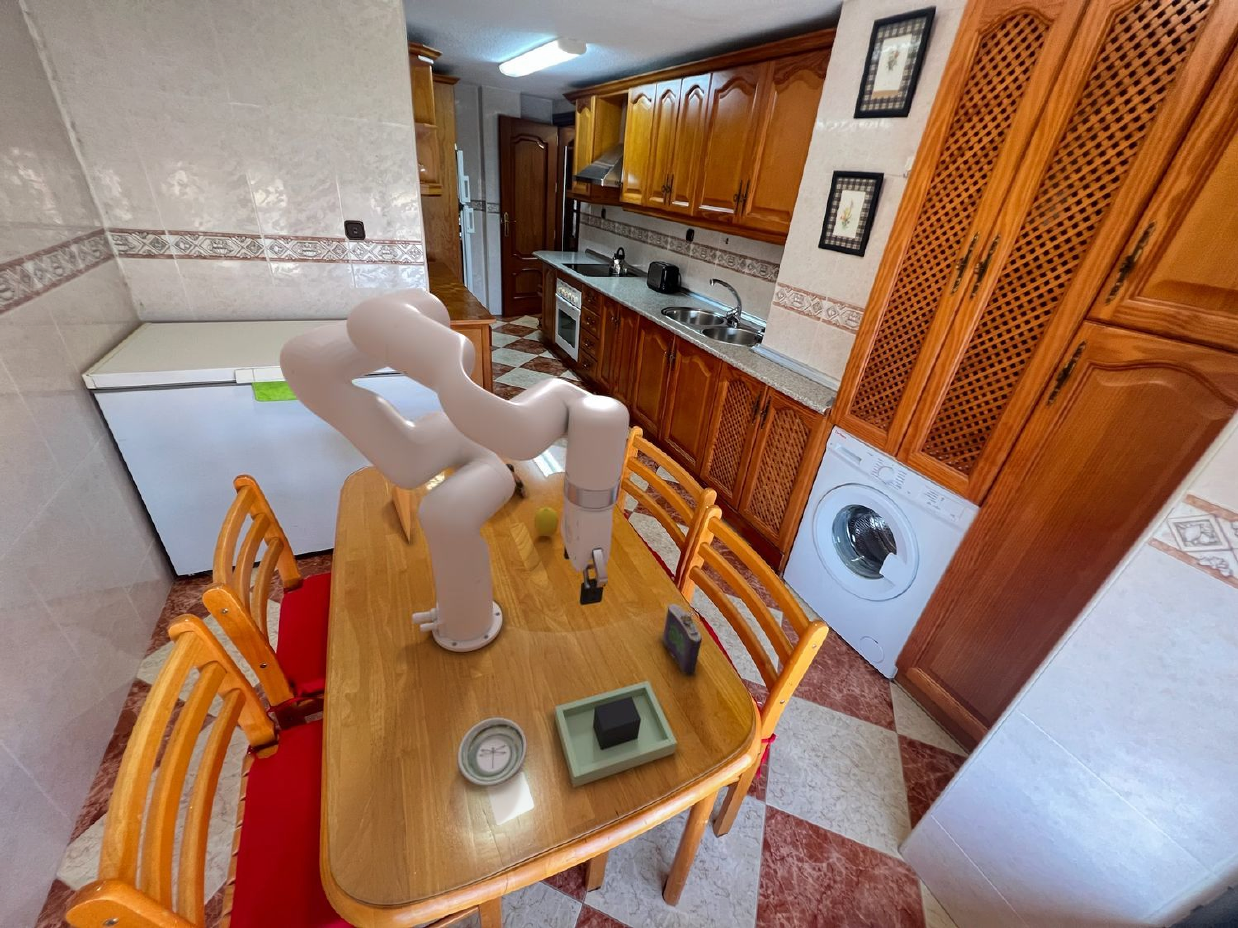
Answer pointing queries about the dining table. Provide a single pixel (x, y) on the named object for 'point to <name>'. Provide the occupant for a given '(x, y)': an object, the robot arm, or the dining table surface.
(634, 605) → the dining table surface
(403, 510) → the carrot
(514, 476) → the brown curved loop piece
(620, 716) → the black rectangular block
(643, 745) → the green rectangular tray
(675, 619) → the flask
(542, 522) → the lemon
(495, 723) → the saucer
